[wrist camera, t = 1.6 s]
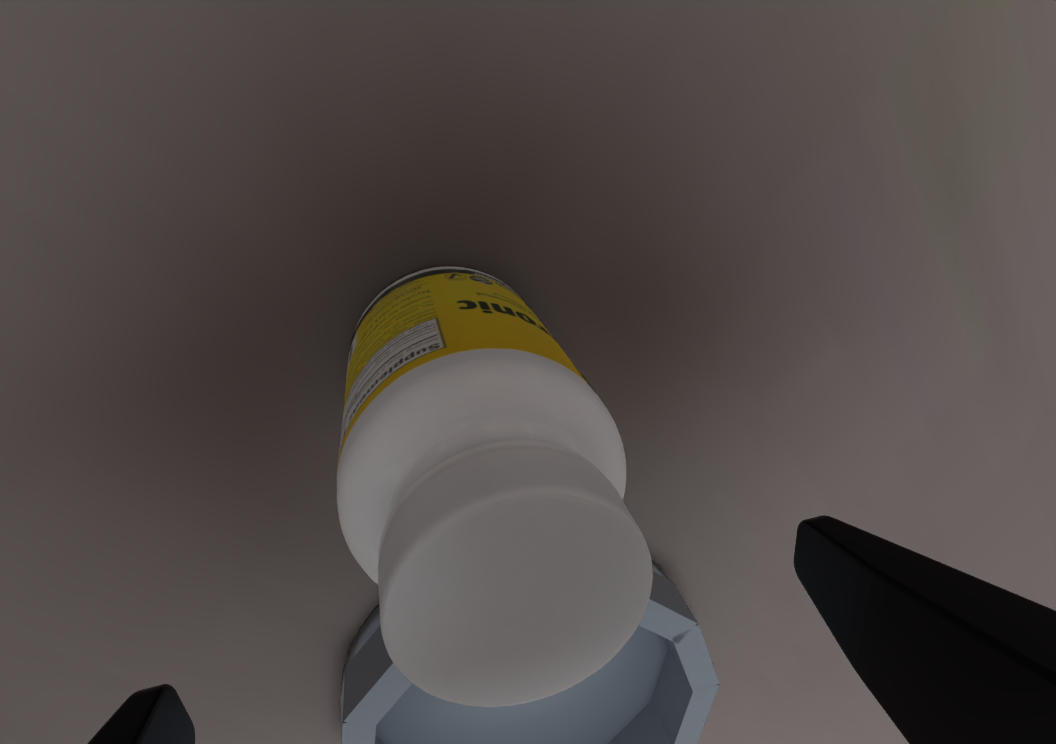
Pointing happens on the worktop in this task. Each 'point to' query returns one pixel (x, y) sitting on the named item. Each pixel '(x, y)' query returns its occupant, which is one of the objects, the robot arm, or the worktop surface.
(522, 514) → the supplement bottle
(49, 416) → the worktop surface
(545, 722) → the round dish
